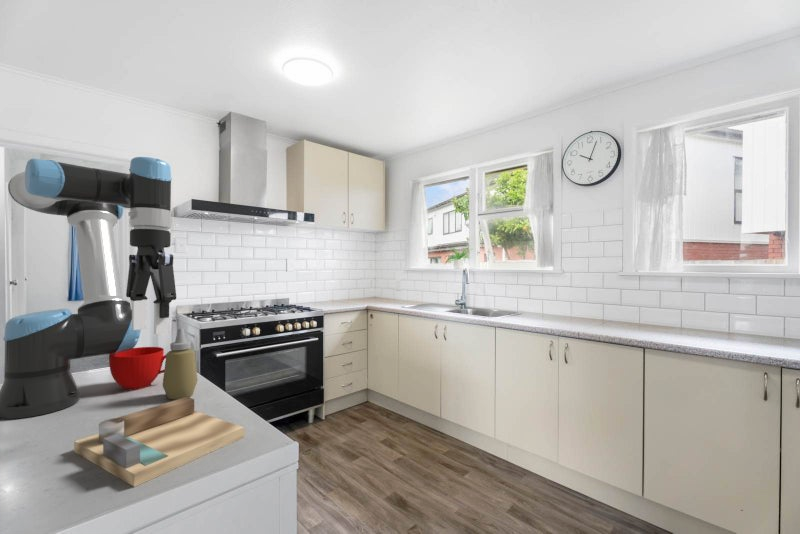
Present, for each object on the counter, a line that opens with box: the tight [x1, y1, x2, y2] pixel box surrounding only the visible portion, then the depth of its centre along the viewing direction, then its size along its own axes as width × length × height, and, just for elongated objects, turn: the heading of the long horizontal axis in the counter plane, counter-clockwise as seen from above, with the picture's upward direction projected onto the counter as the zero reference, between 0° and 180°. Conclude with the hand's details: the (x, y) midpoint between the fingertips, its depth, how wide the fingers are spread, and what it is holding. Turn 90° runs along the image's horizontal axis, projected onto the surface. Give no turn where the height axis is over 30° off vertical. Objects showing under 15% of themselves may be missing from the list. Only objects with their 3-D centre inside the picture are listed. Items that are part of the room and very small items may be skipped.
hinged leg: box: [98, 397, 195, 443], centre depth 76 cm, size 17×4×3 cm, turn 150°
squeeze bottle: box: [162, 328, 199, 400], centre depth 100 cm, size 8×8×18 cm
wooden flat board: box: [73, 410, 245, 488], centre depth 73 cm, size 22×20×5 cm
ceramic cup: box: [108, 346, 166, 390], centre depth 109 cm, size 13×17×10 cm
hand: (150, 330), depth 83 cm, fingers open, 9 cm apart
